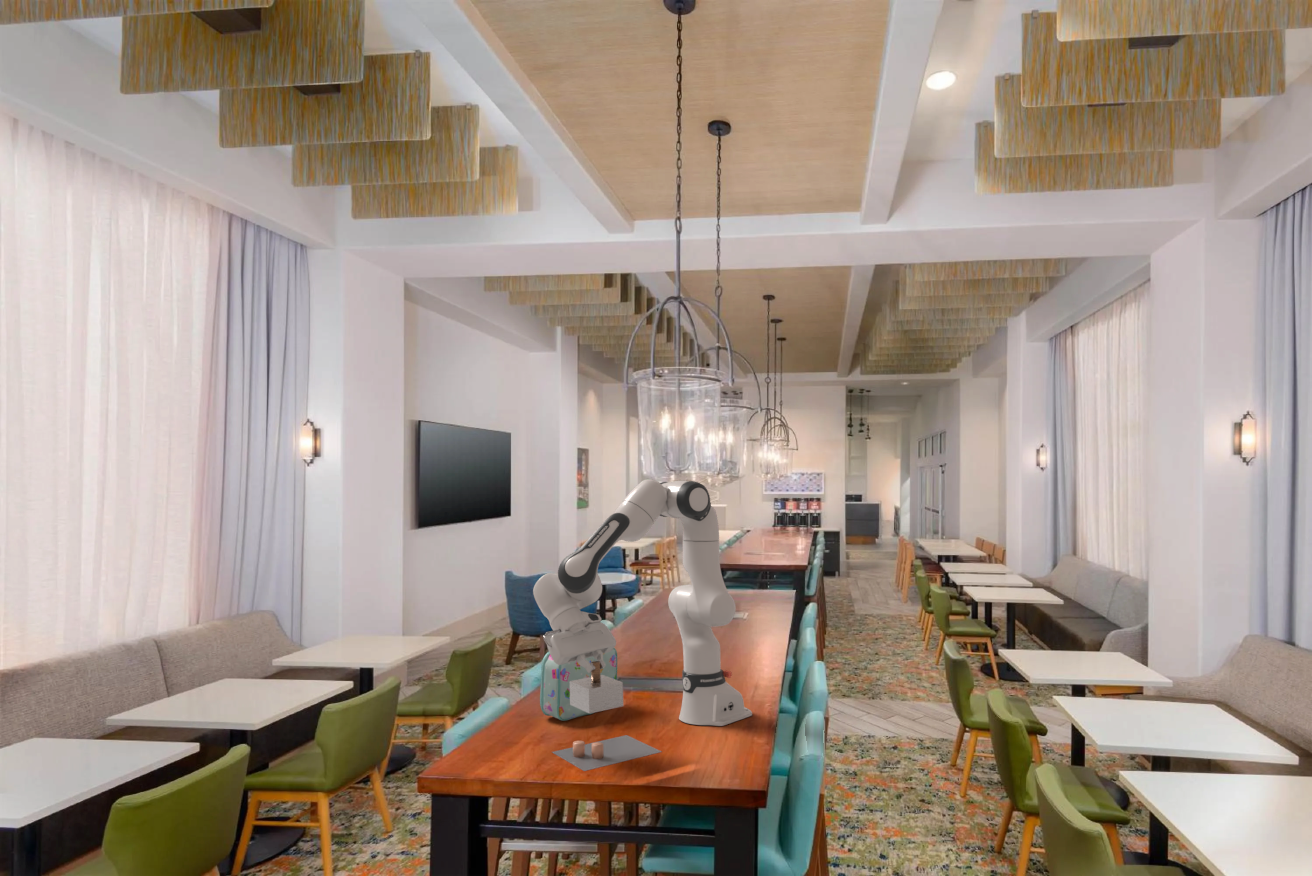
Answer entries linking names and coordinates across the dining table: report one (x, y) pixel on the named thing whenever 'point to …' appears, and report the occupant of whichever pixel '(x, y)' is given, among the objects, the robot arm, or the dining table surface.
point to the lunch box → (567, 684)
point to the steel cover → (596, 692)
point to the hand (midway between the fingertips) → (597, 669)
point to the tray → (605, 752)
